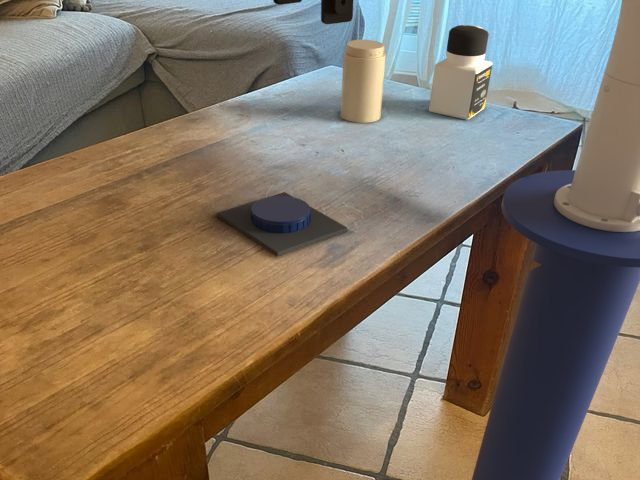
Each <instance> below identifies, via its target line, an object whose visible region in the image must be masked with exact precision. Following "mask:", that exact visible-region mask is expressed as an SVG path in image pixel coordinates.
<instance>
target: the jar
mask: <svg viewBox="0 0 640 480" xmlns="http://www.w3.org/2000/svg"><path fill="white" fill-rule="evenodd" d="M342 57H343V59H342V62H343V63H342V78H341V79H342V80H341V99H340V100H341V101H340V102H341V103H340V117H341V119H343V120H344V121H345V120H346V121H348V122H352V123H360V124H366V123H367V124H368V123H373V122H377V121H379V120H381V116H382V106H383V94H384V82H385V71H386V70H385V69H386V59H387V54H386V52H385V44H384V43H382V42H381V41H378V40H373V39H354V40H349V41H347V42H346V49H345V50H343V56H342Z"/></svg>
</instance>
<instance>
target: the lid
mask: <svg viewBox="0 0 640 480" xmlns="http://www.w3.org/2000/svg"><path fill="white" fill-rule="evenodd" d="M271 196H272V197H270V196H267V197H263V198H260V199H257V200H258V201H257V200H255V201H256V202H255V203H254V204H253V205H252V207H251V220H252V224H254V225H255V226H256V227H257V228H259V229H261V230H264V231H267V232H272V233H291V232H296V231H299V230H302V229H304V228H305V227H307V226H308V224H309V223H310V222H311V211H310V207H311V206H310V205H309V204H308V202H307V201H305V200H303V199H300V198H297V197H294V196H293V197H289V196H273V195H271Z"/></svg>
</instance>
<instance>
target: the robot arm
mask: <svg viewBox="0 0 640 480" xmlns="http://www.w3.org/2000/svg"><path fill="white" fill-rule="evenodd" d="M272 1H273V3H274V4H275V5H278V6H279V5H287V4H288V5H290V4H297V3H301V2H302V1H303V0H272ZM353 18H354V0H320V21H321V23H322V24H325V25H335V24H342V23H350V22H351V21H353ZM600 81H601V82H600V85H599V88H598V91H597V95H596V98H595V102H594V106H593V109H592V112H591V115H590V120H589V123H588V126H587V130H586V133H585V136H584V140H583V143H582V146H581V150H580V153H579V157H578V160H577V164H576V167H575V170H576V171H575V174H574V177H573V181H572V184H568V185H566V186H563V187H561V188H560V189H559V190H558V191H557V192H556V194H555V198H554V206H555V207H556V209H557V211H558V212H560V213H561V214H562V215H563V216H565V217H566V218H568V219H569V220H571V221H573V222H575V223H578V224H581V225H583V226H587V227H590V228H594V229H598V230H603V231H611V232H635V231H640V0H621V3H620V9H619V14H618V19H617V24H616V28H615V32H614V37H613V40H612V44H611V48H610V51H609V54H608V59H607V61H606V66H605V69H604V72H603V75H602V77H601V80H600Z"/></svg>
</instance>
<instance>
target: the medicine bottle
mask: <svg viewBox="0 0 640 480" xmlns="http://www.w3.org/2000/svg"><path fill="white" fill-rule="evenodd" d="M489 35H490V34H489V32H488V30H486V29H485V28H483V27H481V26H479V25H473V24H459V25H456V26H453V27H452V28H451V29H449V31H448V37H447V44H446V51H445V57H446V58H444V59H443V60H439V62H436V63H435V64H434V67H433V75H432V83H431V90H430V96H429V97H430V99H429V106H428V111H429V112H430V113H433V114H437V115H438V114H439V115H444V116H448V117H453V118H457V119H461V120H466V121H468V120H470V119H471V118H473V117H474V116H476V115H477V114H478V113H480V112H481V111H482V110H484V109H485V107H486V102H487V96H488V92H489V86H490V80H491V75H492V70H493V62H492V61H490V60H485V57H486V54H487V53H486V52H487V47H488V41H489Z"/></svg>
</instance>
